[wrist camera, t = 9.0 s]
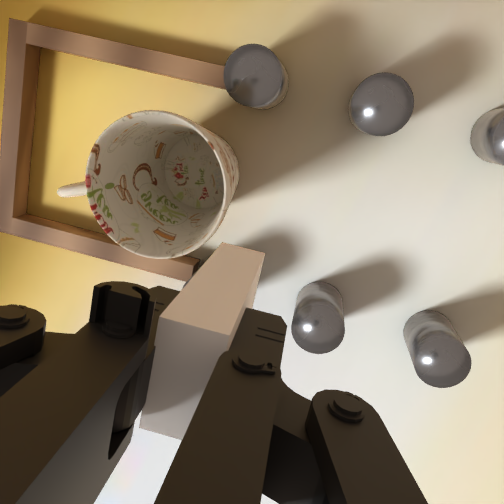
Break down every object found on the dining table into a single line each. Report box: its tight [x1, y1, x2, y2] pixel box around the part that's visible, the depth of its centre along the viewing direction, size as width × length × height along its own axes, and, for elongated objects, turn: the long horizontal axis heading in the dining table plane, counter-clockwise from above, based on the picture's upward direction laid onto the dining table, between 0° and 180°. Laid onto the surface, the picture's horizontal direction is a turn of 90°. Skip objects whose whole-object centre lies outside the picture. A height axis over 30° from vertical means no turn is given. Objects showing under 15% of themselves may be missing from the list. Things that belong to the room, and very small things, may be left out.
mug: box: [57, 110, 239, 259], centre depth 32 cm, size 8×13×10 cm, turn 100°
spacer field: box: [183, 44, 504, 388], centre depth 33 cm, size 20×19×5 cm
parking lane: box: [0, 18, 226, 282], centre depth 36 cm, size 16×16×2 cm
